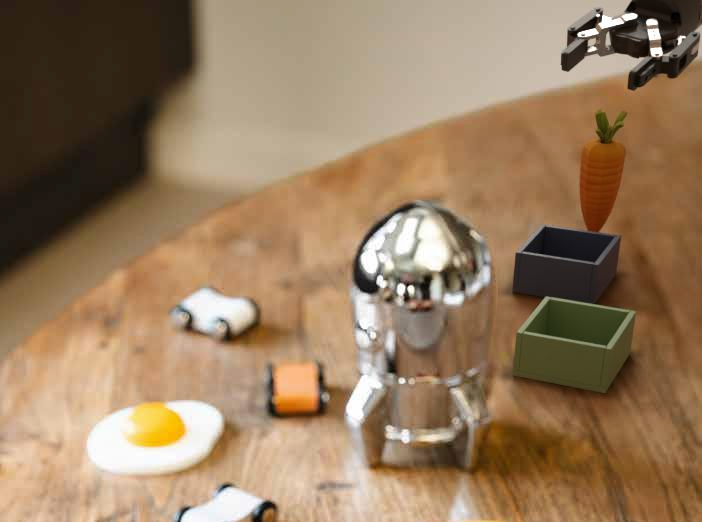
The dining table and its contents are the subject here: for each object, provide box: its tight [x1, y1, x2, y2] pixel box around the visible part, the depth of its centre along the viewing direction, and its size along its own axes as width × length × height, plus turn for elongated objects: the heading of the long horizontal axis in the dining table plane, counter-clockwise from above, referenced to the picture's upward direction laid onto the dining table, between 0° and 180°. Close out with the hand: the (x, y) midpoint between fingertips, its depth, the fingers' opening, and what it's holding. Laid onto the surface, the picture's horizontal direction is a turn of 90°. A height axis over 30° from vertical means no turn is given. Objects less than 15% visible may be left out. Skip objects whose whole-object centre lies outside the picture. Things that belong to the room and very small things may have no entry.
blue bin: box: [511, 223, 622, 304], centre depth 134 cm, size 9×9×5 cm
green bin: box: [512, 296, 637, 394], centre depth 118 cm, size 9×9×5 cm
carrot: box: [578, 109, 628, 233], centre depth 142 cm, size 5×5×15 cm
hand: (597, 72), depth 134 cm, fingers open, 8 cm apart
